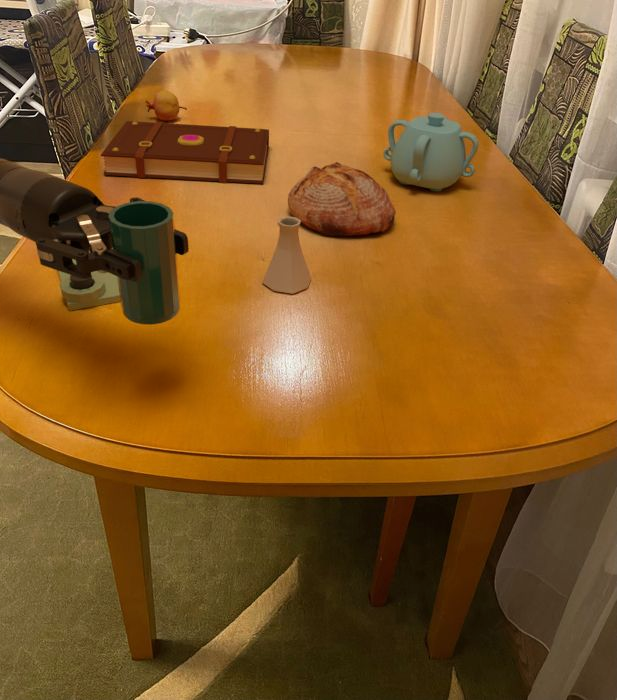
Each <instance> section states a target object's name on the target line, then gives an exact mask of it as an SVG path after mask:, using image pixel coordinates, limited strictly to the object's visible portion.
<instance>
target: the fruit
mask: <svg viewBox="0 0 617 700" xmlns="http://www.w3.org/2000/svg"><path fill="white" fill-rule="evenodd" d="M144 103H146V105H145V106H146V107H147V108H148V109H147V113H149V112H150V111H151V110H153V111H154V114H155V116H156V117H157V119H158V120H161V121H166V122H170V121H173V120H175V119H176V118H177V117H178V115H179V113H180V109H183V110H185V111H187V110H188V108H187V107H185V106H180V104H179V99H178V96H176V94H174V92H172V91H169V90H167V89H166V90H165V89H164V90H160V91H158V92H156V93H155V96H154V100H153V102H150V101H148V100H146V99H145V101H144Z"/></svg>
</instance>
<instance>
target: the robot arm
mask: <svg viewBox="0 0 617 700" xmlns="http://www.w3.org/2000/svg"><path fill="white" fill-rule="evenodd" d="M136 201H145V200H144V199H143V198H140V197H137V196H135V197H131V198H130V199H129V202H136ZM115 207H117V206H116V205H115V206H114V205H107V204H105V203H103V202H102V200H101V199H100V198H99V197H98V195H96V194H95V193H94V192H93V191H92V190H91V189H89V188H87V187H84V186H82V185H79V184H77V183H74V182H71V181H68V180H67V179H63V178H61V177H58V176H55V175H53V174H50V173H48V172H46V171H41V170H37V169H31V168H29V167H25V166H23V165H21V164H17V163H16V162H13V161H11V160H9V159H5V158H0V225H2V226H4V227H7V228H8V229H10V230H11V231H13V232H14V233H16V234H18V235H19V236H21V237H23V238H25V239H26V240H27V239H28V240H30V241H32V242H35V246H36V251H37V252H36V253H37V255H38V259H39V264H40V265H41V266H43V267H46V268H49V269H52V270H55V271H57V272H58V271H61V272H64V273H67V274H70V275H73V276H75V277H78V278H81V279H87V278H89V277H91V272H95V271H97V272H99V273H107V272H109V273H111V274H113V275H115V276H117V277H120V278H122V279H125V280H131V281H133V282H137V281H138V280H140V279H142V271H141V264H140V262H139V261H138V260H137V259H135V258H133V257H131V256H128V255H126V254H123V253H121V252H119V251H117V250H114V249H112V248H113V245H112V238H111V231H110V224H109V217H108V216H109V213H110V211H111V210H112V209H114V208H115ZM175 241H176V254H177V255H180V256H184V255H186V254H188V253H189V238H188V236H187V234H186V233H185V232H183V231H181V230H179V229H175ZM72 259H74V260H76V264H77V265H76V264H74V263H73V260H72Z"/></svg>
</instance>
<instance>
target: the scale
mask: <svg viewBox="0 0 617 700" xmlns="http://www.w3.org/2000/svg"><path fill="white" fill-rule="evenodd" d="M112 249H113V248H112ZM72 260H73V263H74V264H76V260H74V259H72ZM76 265H77V264H76ZM57 273H58V277H59V280H60V283H59V288H60V292H61V296H62V299H64V300H65V302H66V305H67V308H68V311H69V312H71V311H72V312H73V311H77V310H83V309H87V308H93V307H98V306H104V305H110V304H115V303H121V300H120V293H119V286H118V279H117V276H115V275H113V274H111V273H109V272H107V273H99V272H97V271H95V272H91V275H92V280H93V286H92V287H90V288H88V289H83V290H76V289H73V288H72V285H71V280H70V274H67V273H64V272H61V271H58V270H57Z"/></svg>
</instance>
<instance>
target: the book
mask: <svg viewBox="0 0 617 700" xmlns="http://www.w3.org/2000/svg"><path fill="white" fill-rule="evenodd" d="M269 147H270V129H268V128H256V127H255V128H254V127H239V126H238V127H237V126H236V125H229V126H219V125H204V124H203V125H201V124H185V123H184V124H183V123H171V122H170V123H169V122H168V123H167V122H163V121H155V122H151V121H148V122H147V121H134V120H126V121H125V123H123V125H122V126H121V128H120V129H119V130H118V132H117V133H116V134H115V135H114V137H112V139H111V141H110V142H109V143H108V145H106V147H105V148H104V149H103V151H102V152H101V154H100V156H101V157H103V158H102V159H103V160H104V161H103V163H104V164H103V166H104V172H103V175H104V176H118V177H136V178H137V179H146V178H154V179H169V180H170V179H172V180H190V181H191V180H192V181H207V182H208V181H209V182H219V183H221V184H222V183H223V184H227V183H242V184H243V183H246V184H259V185H260V184H264V182H265V175H266V168H267V161H268V155H269V154H268V153H269Z"/></svg>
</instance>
